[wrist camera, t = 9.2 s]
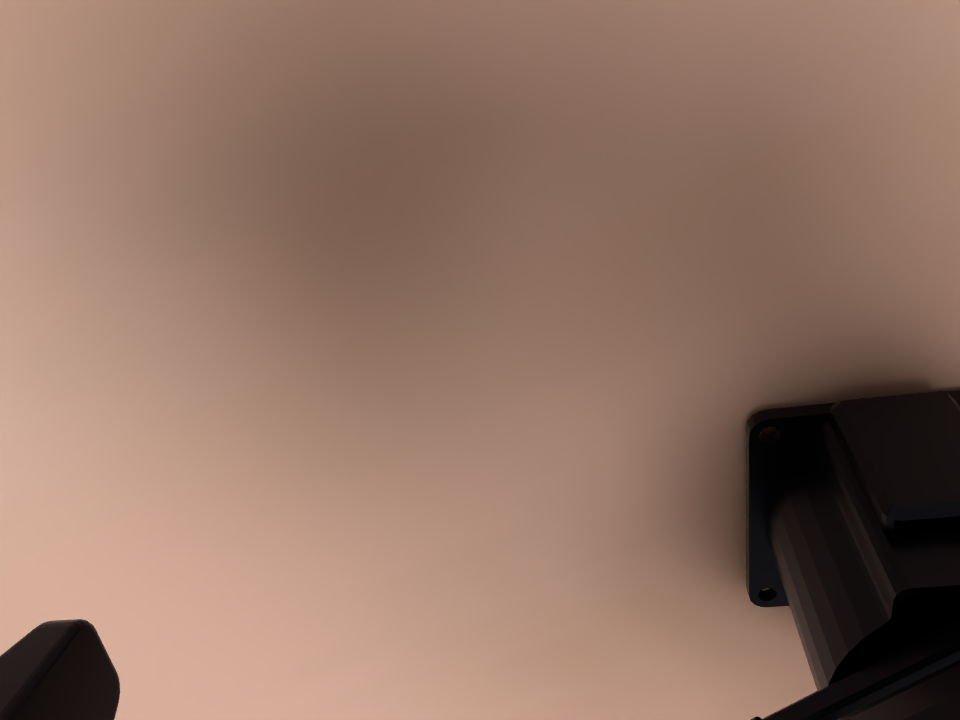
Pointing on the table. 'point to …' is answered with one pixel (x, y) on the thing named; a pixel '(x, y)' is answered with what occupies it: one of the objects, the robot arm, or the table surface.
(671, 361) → the table surface
